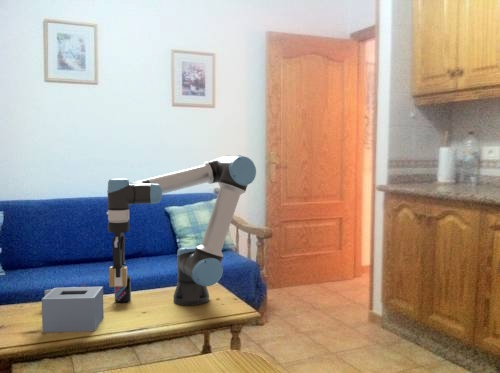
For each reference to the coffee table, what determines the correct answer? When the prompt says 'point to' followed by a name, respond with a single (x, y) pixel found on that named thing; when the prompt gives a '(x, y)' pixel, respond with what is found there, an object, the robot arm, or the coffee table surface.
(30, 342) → the coffee table surface
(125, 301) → the supplement container
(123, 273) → the tan flat block
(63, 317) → the coin box
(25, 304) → the coffee table surface
